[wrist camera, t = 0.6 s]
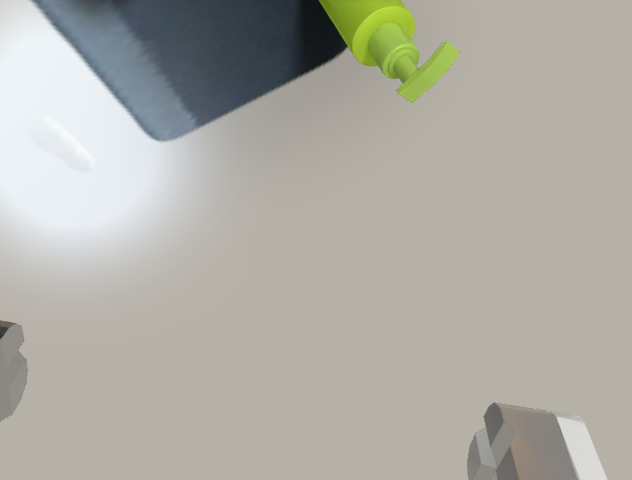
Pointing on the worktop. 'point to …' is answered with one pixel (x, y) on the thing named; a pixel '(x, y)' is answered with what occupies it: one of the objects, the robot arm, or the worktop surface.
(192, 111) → the worktop surface
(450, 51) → the soap dispenser
